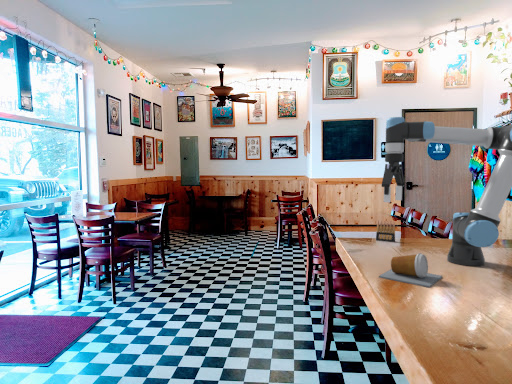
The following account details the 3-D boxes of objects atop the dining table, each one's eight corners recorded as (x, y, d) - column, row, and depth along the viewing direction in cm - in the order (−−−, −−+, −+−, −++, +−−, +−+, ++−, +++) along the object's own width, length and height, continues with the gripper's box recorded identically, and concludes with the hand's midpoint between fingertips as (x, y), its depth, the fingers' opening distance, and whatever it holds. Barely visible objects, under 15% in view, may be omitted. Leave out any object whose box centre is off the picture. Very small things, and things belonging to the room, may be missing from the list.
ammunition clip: (395, 241, 218) (395, 221, 218) (394, 242, 217) (395, 221, 216) (376, 239, 223) (376, 220, 223) (375, 240, 222) (376, 220, 221)
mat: (394, 268, 161) (394, 267, 161) (442, 277, 148) (442, 275, 148) (378, 277, 148) (378, 275, 148) (429, 287, 135) (429, 285, 135)
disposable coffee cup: (400, 266, 157) (430, 268, 149) (393, 281, 151) (424, 283, 143) (394, 248, 154) (424, 248, 146) (387, 262, 148) (418, 263, 140)
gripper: (396, 154, 175) (395, 198, 176) (374, 152, 156) (373, 202, 158) (412, 153, 170) (411, 199, 172) (392, 152, 151) (390, 203, 153)
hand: (392, 201), depth 165 cm, fingers open, 13 cm apart
